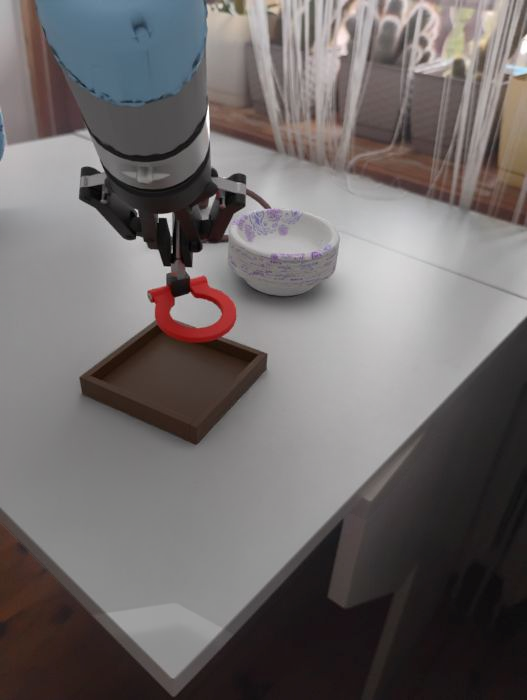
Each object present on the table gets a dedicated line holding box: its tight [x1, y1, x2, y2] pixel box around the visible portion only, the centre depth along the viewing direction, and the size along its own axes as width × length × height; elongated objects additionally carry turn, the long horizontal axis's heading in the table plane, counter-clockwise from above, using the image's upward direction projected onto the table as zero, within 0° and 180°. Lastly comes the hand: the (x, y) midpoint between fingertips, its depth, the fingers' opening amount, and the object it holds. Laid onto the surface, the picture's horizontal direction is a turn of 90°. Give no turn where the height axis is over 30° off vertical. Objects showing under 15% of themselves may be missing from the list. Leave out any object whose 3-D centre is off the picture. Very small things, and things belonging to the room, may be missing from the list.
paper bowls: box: [227, 207, 341, 297], centre depth 87 cm, size 15×15×8 cm
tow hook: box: [146, 212, 237, 342], centre depth 61 cm, size 8×13×9 cm
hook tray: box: [79, 319, 268, 445], centre depth 69 cm, size 15×15×2 cm
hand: (178, 254), depth 65 cm, fingers closed on tow hook, 1 cm apart
